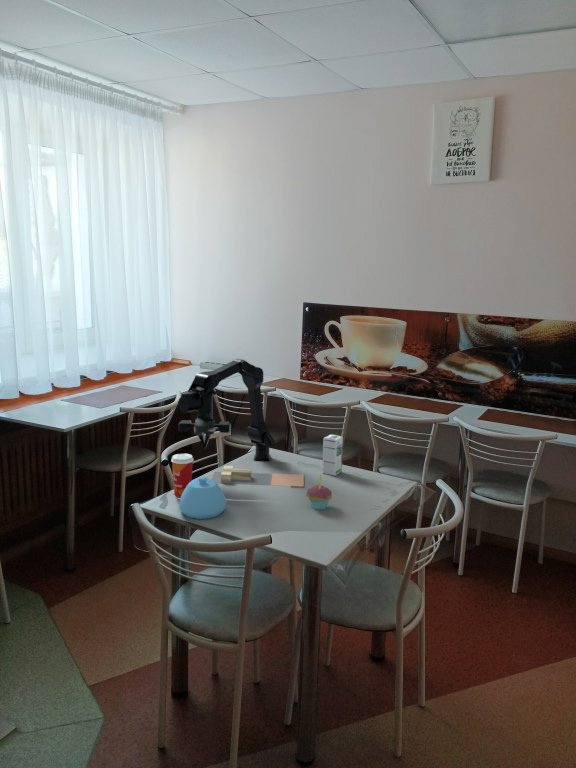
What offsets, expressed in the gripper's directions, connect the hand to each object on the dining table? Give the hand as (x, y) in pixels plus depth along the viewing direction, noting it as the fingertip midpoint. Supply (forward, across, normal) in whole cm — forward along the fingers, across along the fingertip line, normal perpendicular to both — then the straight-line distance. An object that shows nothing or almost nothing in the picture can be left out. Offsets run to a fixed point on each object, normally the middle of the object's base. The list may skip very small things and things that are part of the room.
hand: (204, 448), depth 232 cm
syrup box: (+12, +48, +11) cm, 51 cm away
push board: (+12, +20, 0) cm, 23 cm away
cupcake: (+12, +42, -23) cm, 49 cm away
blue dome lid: (+12, +4, -30) cm, 33 cm away
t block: (+11, +12, 0) cm, 16 cm away
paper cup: (+12, -5, -17) cm, 21 cm away
